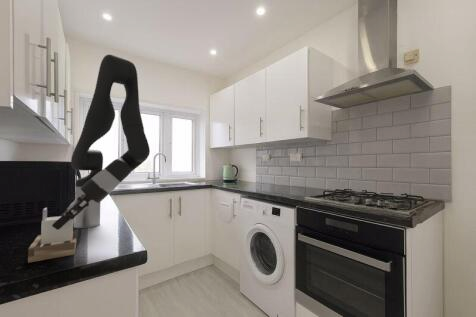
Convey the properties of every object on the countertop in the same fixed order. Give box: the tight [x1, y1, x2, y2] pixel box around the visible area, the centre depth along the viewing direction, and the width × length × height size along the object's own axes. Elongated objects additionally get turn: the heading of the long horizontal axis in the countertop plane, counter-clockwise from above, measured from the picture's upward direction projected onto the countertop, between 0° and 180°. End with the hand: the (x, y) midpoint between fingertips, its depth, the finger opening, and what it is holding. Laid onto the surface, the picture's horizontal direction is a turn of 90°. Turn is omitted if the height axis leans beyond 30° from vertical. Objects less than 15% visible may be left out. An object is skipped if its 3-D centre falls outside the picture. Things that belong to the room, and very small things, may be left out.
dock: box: [27, 231, 78, 264], centre depth 68 cm, size 14×10×4 cm
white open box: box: [40, 207, 74, 247], centre depth 68 cm, size 5×7×12 cm
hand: (56, 224), depth 68 cm, fingers open, 8 cm apart
